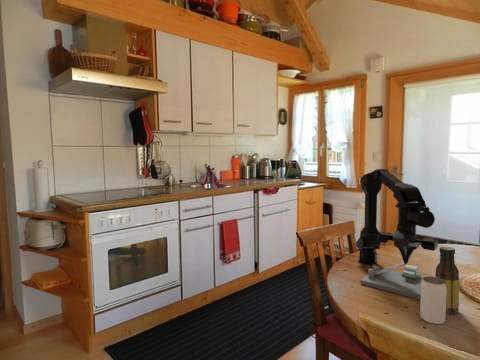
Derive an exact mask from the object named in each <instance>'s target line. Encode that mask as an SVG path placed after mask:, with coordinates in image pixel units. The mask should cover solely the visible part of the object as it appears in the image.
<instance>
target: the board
mask: <svg viewBox="0 0 480 360" xmlns="http://www.w3.org/2000/svg"><path fill="white" fill-rule="evenodd" d="M380 269H383V268H382V267H379V266H377V265H375V264H373V265H372V268H368V269H367V275H365V276H363V277H362V278H361V279H360V285H364V286H368V287H371V288H375V289H379V290H381V291H386V292H390V293H395V294H399V295H402V296H405V297H406V296H407V297H410V298H413V299H417V300H420V301H421V282H422V281H423V278H424V277H422V274H420V273H418V276H417V278H416V279H414V278H410V277H405V276H404V274H403V272H400V271H399V272H398V271H395V270H389V271H386V272H382V273H379V274H376V275H374V271H377V270H380Z"/></svg>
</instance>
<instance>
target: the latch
mask: <svg viewBox="0 0 480 360" xmlns="http://www.w3.org/2000/svg"><path fill="white" fill-rule="evenodd" d="M402 273H403V274H404V276H405V277H410V278H414V279H416V278H417V276H418V275H419V266H416V265H410V264H406V265H405V266H403V270H402Z"/></svg>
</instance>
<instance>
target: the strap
mask: <svg viewBox="0 0 480 360" xmlns="http://www.w3.org/2000/svg"><path fill="white" fill-rule="evenodd" d="M406 265H407V264H405V263H404V261H402V262H399V263H397V264H393V265H390V266H387V267H384V268H382V269H380V270H377V271H374V275H376V274H379V273H382V272H386V271H389V270H391V271H393V270H395V269H398V268H402V267H405V266H406Z"/></svg>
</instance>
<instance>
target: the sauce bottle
mask: <svg viewBox="0 0 480 360" xmlns="http://www.w3.org/2000/svg"><path fill="white" fill-rule="evenodd" d="M439 254H440V255H439V256H440V257H439V263H438V264H437V266H436V267H435V276H434V277H437V278H440V279H442V280H444V281H445V285H446V287H447V293H446V315H447V314H448V315H456V314H457V313H458V312H459V307H460V275H459V274H460V271H459V269H458V267H457V266H456V264H455V262H456V261H455V254H456V249H455V248H454V247H452V246H447V245H446V246H445V245H443V246H440V247H439Z"/></svg>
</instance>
